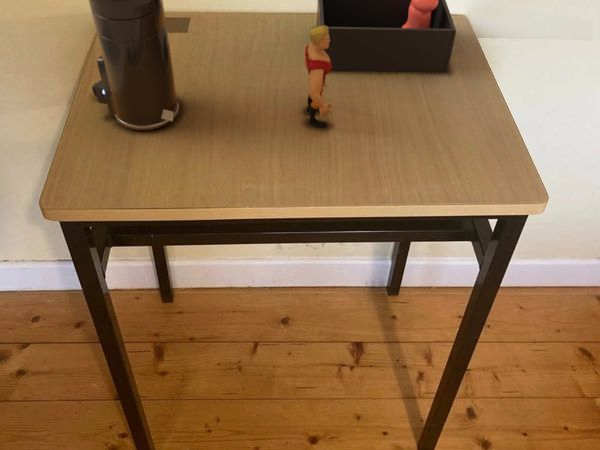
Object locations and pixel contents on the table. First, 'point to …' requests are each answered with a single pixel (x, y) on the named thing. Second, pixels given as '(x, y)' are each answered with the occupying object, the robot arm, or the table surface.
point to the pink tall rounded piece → (420, 13)
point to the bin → (385, 36)
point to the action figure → (317, 72)
